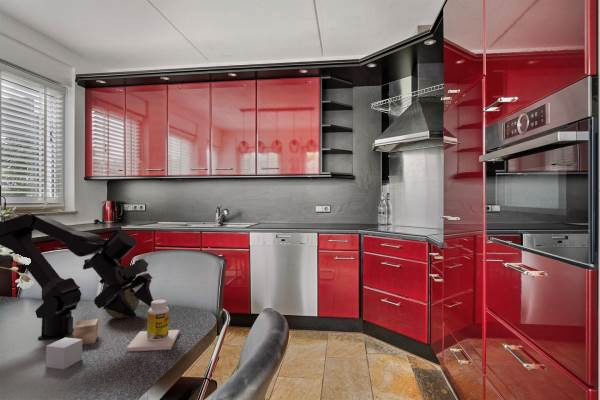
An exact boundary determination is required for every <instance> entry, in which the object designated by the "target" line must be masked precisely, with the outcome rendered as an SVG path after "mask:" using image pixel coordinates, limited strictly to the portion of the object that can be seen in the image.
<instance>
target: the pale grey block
mask: <svg viewBox="0 0 600 400" xmlns="http://www.w3.org/2000/svg"><path fill="white" fill-rule="evenodd" d="M45 348H46V349H45V351H46V352H45V367H46V368H50V369H58V370H59V369H60V370H66V369H67V368H69V367H70V366H72V365H75V364H76V363H78V362H79V361H82V359H83V344H82V339H76V338H74V337H66V336H65V337H64V338H60V339H59V340H58V339H57V340H56V341H54V342H51V343H49V344H47V345H46V347H45Z"/></svg>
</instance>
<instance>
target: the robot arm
mask: <svg viewBox="0 0 600 400" xmlns="http://www.w3.org/2000/svg"><path fill="white" fill-rule="evenodd" d="M35 231H38V232H40V233H41V234H43V235H46V236H48V237H49V238H52V239H55V240H57V241H59V242H61V243H62V244H64V245H65V246H66V249H67V250H68V251H69V252H71V253H72V254H73V255H75V256H77V257H80V258H81V257H86V256H87V257H88V256H91V255H92V256H91V257H90V258H87V259H84V263H83V266H82V270H89V269H93V270H94V271H95V273H96V274H97V275H98V276H99V277H100V280H99V284H101V285H102V284H105V285H106V287H104V289H103V290H102V291H101V292H100V293H98V295H96V296H95V298H94V299H93V301H94V303H93V304H94V305H95V307H97V309H103V310H105V309H109V310H112V311H115V312H118V313H121V314H123V315H126V316H128V317H129V318H131V319H135V317H137V314H136V312H135V311H134V310H133V309H132V307H131V306H130V304H129V303H128V302H127V300H126V299H125V292H126V291H130V292H132V293H134V294H133V296H135V297H136V298H138V299H139V300H140V301H141V302H142V303H144V304H145V305H147V306H148V307H149V308H151V302H152V301H154V298H153V296H152V293H151V290H150V286H151V283H152V279H153V276H152V275H150V273H149V272H148V267H149V263H148V262H147V261H146V260H145V259H144V258H139V259H138V260H135V261H134V263H133V264H130V265H128V266H127V264H122V265H121V264H120V263H119V262H118V261H117V260H123V259H124V258H125V257H126V256H127V255H128V254H129V253H130V252H131V251H132V250H133V249H134V248H135V247H136V246H137V244H138V243H137V240H136V239H135V237H134V236H132V235H131V234H129V233H127V232H124V231H123V230H122V229H116V230H115V231H114V232H113V233H112V234H111V235H110V236H109V237H108V239H106V238H103V237H102V236H101V235H100V234H97V233H92V232H87V231H83V230H77V229H75V228H72V227H71V226H68V225H66V224H65V223H62V222H60V221H57V220H55V219H53V218H51V217H49V216H47V215H46V214H45V213H43V212H28V213H25V214H23V215H21V216H17V217H13V218H10V219H6V220H0V246H1V247H4V248H6V249H8V250H11V251H12V252H13V254H15V255H16V254H19V255H21V256H23V257H27V258H30V259H31V263H30V264H29V265H25V264H23V263H22V264H23V266H24V268H26V270H27V271H28V272H29V273H30V275H31V276H32V277H33V279H34V280H35V281H36V283H37V284H38V285H39V287H40V288H41V300H42V302H43V303H41V305H39V306H38V308H36V310H35V315H36V318H37V319H41V334H40V335H39V336H38V337H37V340H53V339H54V340H56V339H57V340H58V339H59V340H60V339H63V338H65V337H66V336H68V335H69V334H71V333H72V332H74V317H73V316H72V313H73V312H72V311H74V310H76V309H77V306H78V304H79V303H80V301H81V298H82V291H81V290H80V289H81V286H79V284H77V283H76V281H75V279H73V277H68V278H66V279H64V278H63V277H61V276H60V275H59V273H57V271H56V270H55V269H54V266H52V265H51V264H50V262H49V261H48V260H47V259H46V257H45V256H44V255H43V254H42V252H41V251H40V250H39V248H38V247H37V246H36V244H34V242H33V232H35ZM133 279H134V280H133ZM132 280H133V281H132ZM107 286H108V287H107ZM127 287H128V288H127Z"/></svg>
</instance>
